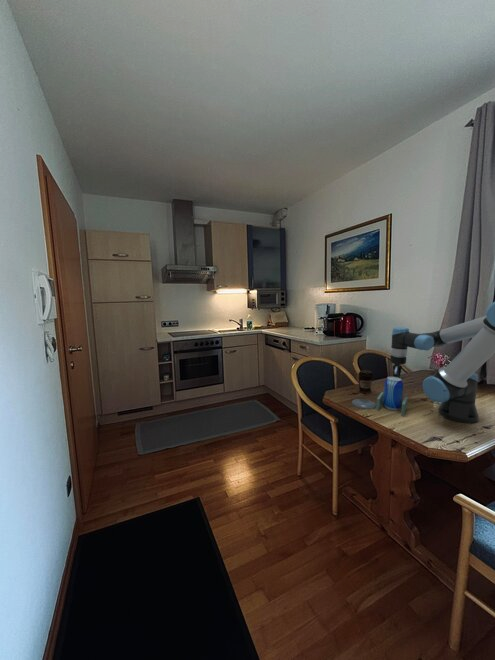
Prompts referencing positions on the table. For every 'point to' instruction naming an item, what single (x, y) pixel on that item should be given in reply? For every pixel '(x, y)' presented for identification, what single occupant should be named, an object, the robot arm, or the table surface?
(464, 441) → the table surface
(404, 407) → the rack
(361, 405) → the flat grey disc
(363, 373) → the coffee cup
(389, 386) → the beer can
